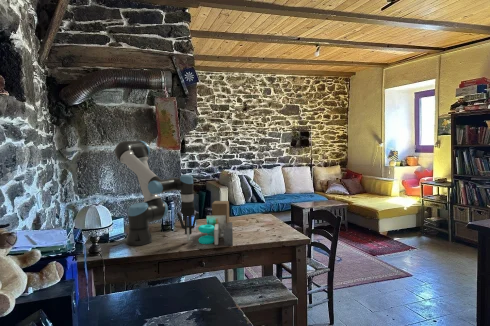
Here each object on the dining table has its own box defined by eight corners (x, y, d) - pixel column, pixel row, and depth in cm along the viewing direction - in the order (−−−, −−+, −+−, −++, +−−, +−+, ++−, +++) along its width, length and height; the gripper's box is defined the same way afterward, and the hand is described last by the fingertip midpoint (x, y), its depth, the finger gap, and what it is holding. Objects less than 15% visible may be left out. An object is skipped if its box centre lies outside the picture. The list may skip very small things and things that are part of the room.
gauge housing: (205, 246, 201) (204, 222, 200) (207, 237, 219) (206, 215, 217) (232, 245, 202) (232, 221, 201) (232, 236, 219) (232, 214, 218)
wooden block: (229, 229, 236) (229, 200, 235) (227, 233, 226) (226, 203, 225) (215, 229, 237) (214, 200, 236) (212, 233, 227) (211, 203, 226)
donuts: (207, 223, 215) (218, 225, 208) (207, 238, 216) (218, 242, 209) (194, 226, 208) (205, 229, 201) (195, 242, 208) (206, 246, 202)
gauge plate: (214, 244, 202) (214, 225, 201) (215, 237, 217) (215, 219, 216) (218, 244, 202) (217, 225, 201) (218, 237, 217) (218, 219, 216)
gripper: (175, 202, 202) (176, 241, 204) (197, 201, 203) (198, 241, 204) (177, 200, 210) (178, 238, 211) (198, 199, 210) (199, 237, 212)
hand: (188, 239), depth 208 cm, fingers closed
